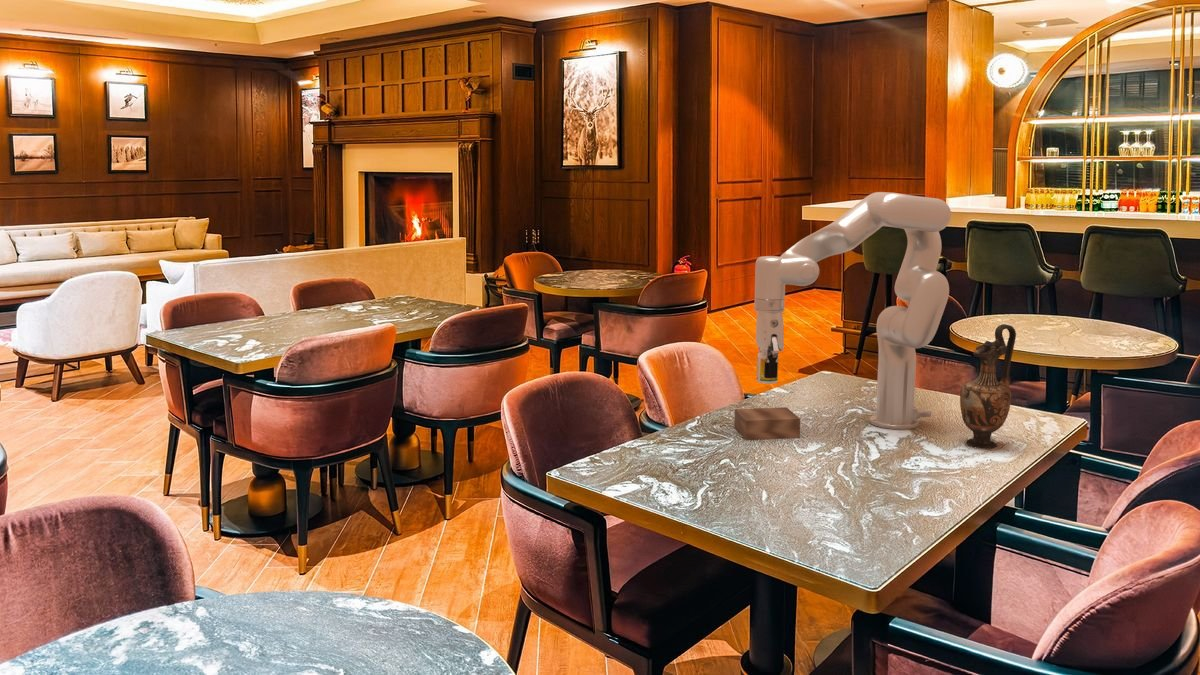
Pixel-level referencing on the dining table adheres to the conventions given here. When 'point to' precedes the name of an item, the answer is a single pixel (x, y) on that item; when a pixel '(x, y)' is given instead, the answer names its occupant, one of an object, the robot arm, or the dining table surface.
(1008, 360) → the vase
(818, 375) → the dining table surface
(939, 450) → the dining table surface
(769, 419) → the walnut plinth
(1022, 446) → the dining table surface
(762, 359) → the supplement bottle
